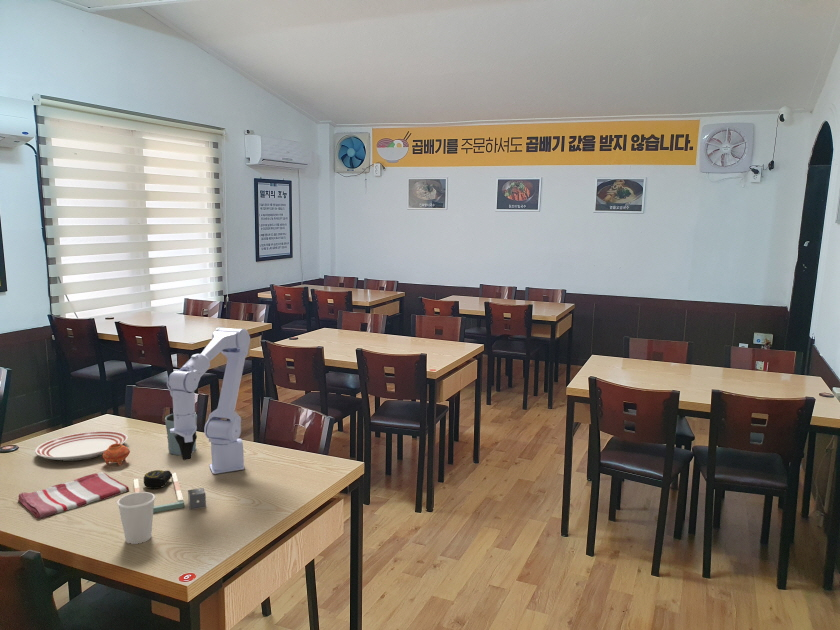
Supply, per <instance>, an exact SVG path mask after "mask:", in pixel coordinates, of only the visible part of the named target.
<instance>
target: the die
mask: <svg viewBox="0 0 840 630" xmlns="http://www.w3.org/2000/svg"><path fill="white" fill-rule="evenodd" d="M187 496H188V499H187V501H188V507H189V510H190V511H191V510H197V509H202V508H203V509H204V508H207V500H206V497H207V495H206V491H205V488H204V487H198V488H194V489H193V488H192V489H188V490H187Z"/></svg>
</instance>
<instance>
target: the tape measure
mask: <svg viewBox="0 0 840 630" xmlns="http://www.w3.org/2000/svg"><path fill="white" fill-rule="evenodd" d="M170 479H172V471H170V470H161V469H156V470H151V471H148V472H147V473H145V474H144V476H143V485H144V487H146V488H148V489H154V488H155V489H156V488H163V487H165V486H166V484H167V483H168V482H169V481H170Z"/></svg>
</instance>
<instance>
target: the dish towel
mask: <svg viewBox="0 0 840 630" xmlns="http://www.w3.org/2000/svg"><path fill="white" fill-rule="evenodd" d="M127 492H130V488H129V486H128V485H126V484H124V483H122V482H120V481H118V479H115V478H113V477H111V476H110V475H108V473H106V472H104V471H103V472H102V471H101V472H95V473H92V474H88V475H84V476H82V477H79V478H76V479H74V480H72V481H67V482H63V483H58V484H55V485H52V486H50V487H48V488H45V489H40V490H38V491H33V492H21V493H19V494H18V502H20V503H21V504H22V505H23V506H24V507H25V508H26V509H27V510H28V511H29V512H30V513H31V514H32V515H34V516H35V518H37V519H44V518H47V517H50V516H53V515H57V514H60V513H64V512H67V511H70V510H73V509H76V508H80V507H83V506H86V505H88V504H91V503H95V502H98V501H102V500H105V499H109V498H111V497H115V496H117V495H120V494H123V493H127Z"/></svg>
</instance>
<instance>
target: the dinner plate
mask: <svg viewBox="0 0 840 630" xmlns="http://www.w3.org/2000/svg"><path fill="white" fill-rule="evenodd" d="M128 439H129V437H128V435H127V434H125V433H123V432H121V431H114V430H113V431H112V430H94V431H85V432H77V433H72V434H68V435H67V434H66V435H64V436H59V437H55V438H53V439H50V440H47V441H45V442H43V443H41V444H39V445H38V446H37V447H36V448H35V449H34V453H35V454H36V455H38V456H39V457H42V458H44V459H49V460H57V461H62V460H63V461H64V462H66V461H67V462H69V461H71V462H72V461H73V462H74V461H81V460H82V461H83V460H87V459H93V458H97V457H99V456H103V453H104V452H105V451H106V450H107V449H108V448H109V446H110V445H112V444H122V445H124V444H125V443H126V442H127V441H128Z"/></svg>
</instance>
